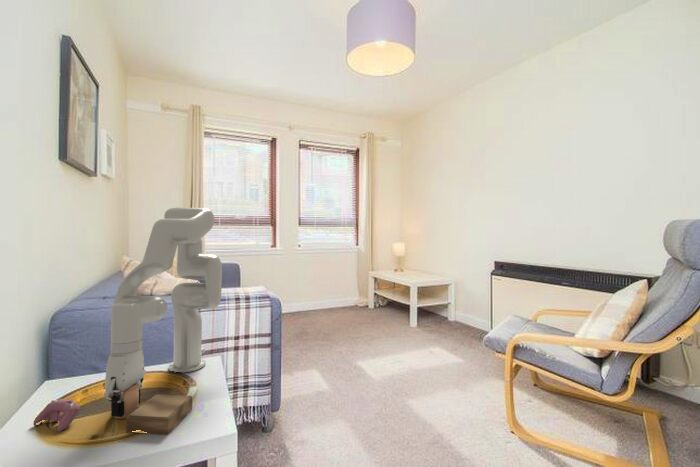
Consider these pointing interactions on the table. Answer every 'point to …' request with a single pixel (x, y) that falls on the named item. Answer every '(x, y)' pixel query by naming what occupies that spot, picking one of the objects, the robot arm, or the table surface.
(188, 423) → the table surface
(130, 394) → the canister
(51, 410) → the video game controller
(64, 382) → the table surface
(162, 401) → the walnut block
